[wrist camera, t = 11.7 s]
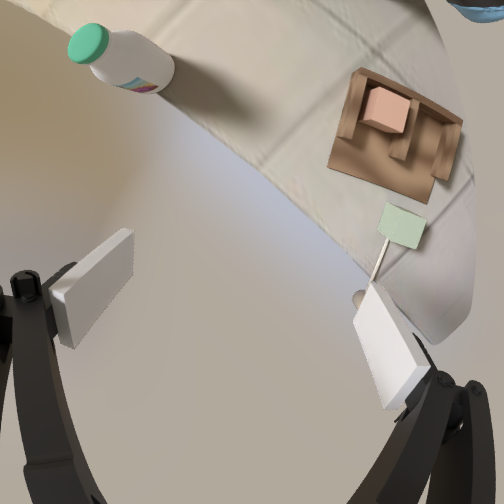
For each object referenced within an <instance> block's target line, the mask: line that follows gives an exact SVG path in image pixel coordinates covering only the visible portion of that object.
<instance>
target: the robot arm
mask: <svg viewBox="0 0 504 504" xmlns="http://www.w3.org/2000/svg"><path fill="white" fill-rule="evenodd" d="M447 2H448V3H450V4H451V5H452V6H454V7H455V8H456V9H457V10H458V11H459V12H460V13H461V14H462V15H463V16H464V17H465V18H467V19H469V20H471V21H473V22H477V23H490V22H495V21H499V20H502V19H504V0H447ZM134 234H135V231H134V230H130V229H126V228H122V229H120V230H119V231H118V232H116V233H115V234H114V235H112V236H111V237H110V238H108V239H107V240H106V241H105V242H103V243H102V244H101V245H99V246H98V247H97V248H96V249H94V250H93V251H92V252H91V253H90V254H88V255H87V256H86V257H85V258H83V259H82V260H81V261H80V262H79V263H77V262H72V263H70V264H67V265H65V266H64V267H63V268H61V269H60V270H59V272H57V273H55V274H54V276H52V277H51V278H49V279H48V280H47V281H46V282H45V283H44V284H42V285H41V283H40V277H39V274H38V273H37V272H35V271H32V270H24V271H20V272H18V273H16V274H14V275H13V276H12V277H11V279H10V283H11V288H12V292H13V296H7V295H4V294H3V290H2V287H1V286H0V430H1V420H2V412H3V404H4V397H5V390H6V386H7V380H8V375H9V370H10V365H11V361H12V357H13V376H14V387H15V398H16V406H17V413H18V420H19V425H20V431H21V436H22V442H23V446H24V451H25V455H26V459H27V464H26V465H25V466H24V470H23V472H24V477H25V480H26V484H27V487H28V490H29V494H30V497H31V500H32V502H33V504H107V502H106V500H105V499H104V497H103V495H102V494H101V492H100V490H99V489H98V487H97V485H96V483H95V481H94V478H93V476H92V474H91V471H90V469H89V467H88V464H87V462H86V459H85V457H84V454H83V452H82V449H81V446H80V443H79V440H78V437H77V435H76V431H75V428H74V425H73V422H72V419H71V415H70V412H69V408H68V405H67V401H66V397H65V393H64V389H63V385H62V381H61V376H60V371H59V367H58V362H57V356H56V350H55V345H54V341H53V338H54V337H55V336H56V335H57V333H58V336H59V340H60V343H61V344H63V345H65V346H67V347H70V348H72V349H75V348H76V347H77V346H78V344H79V343H80V342H81V340H82V339H83V338H84V336H85V335H86V333H87V332H88V331H89V330H90V328H91V327H92V326H93V324H94V323H95V322H96V320H97V319H98V318H99V316H100V315H101V314H102V313H103V311H104V310H105V309H106V308H107V306H108V305H109V304H110V303H111V301H112V300H113V299H114V297H115V296H116V295H117V294H118V292H119V291H120V290H121V289H122V287H123V286H124V285H125V284H126V283H127V282H128V280H129V279H130V278H131V277H132V275H133V255H134ZM353 323H354V326H355V329H356V332H357V334H358V337H359V339H360V342H361V345H362V348H363V350H364V353H365V356H366V358H367V361H368V364H369V367H370V370H371V373H372V376H373V379H374V381H375V384H376V387H377V390H378V393H379V397H380V400H381V402H382V406H383V409H384V410H391V409H392V410H393V409H398V408H399V407H400V406H401V404H402V403H403V402H404V401H405V403H406V405H407V408H406V409H405V410H404V411H403V412H402V413H401V415H400V416H399V417H398V418H397V419H396V420H395V421H394V422H395V423H396V422H397V421H398V422H397V424H396V426H395V428H394V430H393V432H392V434H391V436H390V437H389V439H388V441H387V443H386V445H385V446H384V448H383V450H382V451H381V453H380V455H379V457H378V458H377V460H376V461H375V463H374V465H373V466H372V468H371V469H370V471H369V473H368V474H367V476H366V477H365V479H364V480H363V482H362V483H361V484H360V486H359V487H358V489H357V490H356V492H355V493H354V494H353V496H352V497H351V499H350V500H349V501H348V503H347V504H418V502H419V499H420V497H421V495H422V493H423V491H424V488H425V486H426V484H427V481H428V479H429V476H430V474H431V477H430V483H429V490H428V495H427V500H426V504H495V492H496V472H495V451H494V440H493V430H492V423H491V415H490V409H489V403H488V397H487V393H486V390H485V388H484V387H483V385H482V384H481V383H480V382H477V381H474V380H471V381H469V382H468V383H467V384H466V386H465V387H461V386H457V385H456V384H455V381H454V379H453V378H452V377H451V376H450V375H449V374H448V373H446V372H444V371H438V370H437V368H436V366H435V364H434V363H433V361H432V359H431V357H430V355H429V354H427V353H428V352H427V350H426V349H425V348H424V345H423V343H422V342H421V340H420V339H419V338H418V337H417V336H416V335H415V334H414V333H412V332H411V331H410V329H409V327H408V325H407V324H406V322H405V320H404V319H403V317H402V315H401V314H400V312H399V311H398V309H397V307H396V306H395V304H394V303H393V301H392V299H391V298H390V296H389V295H388V293H387V292H386V290H385V289H384V287H383V286H382V285H381V284H376V283H370V285H369V287H368V290H367V292H366V294H365V296H364V299H363V301H362V303H361V305H360V307H359V310H358V312H357V314H356V316H355V318H354V320H353ZM462 423H463V425H462V427H461V429H460V425H461V424H462Z"/></svg>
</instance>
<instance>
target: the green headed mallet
mask: <svg viewBox="0 0 504 504" xmlns="http://www.w3.org/2000/svg"><path fill="white" fill-rule="evenodd" d="M426 222H427V220H426V219H424V218H423V217H421V216H419V215H417V214H415V213H413V212H411V211H409V210H406V209H404V208H401V207H399V206H396V205H393V204H391V203H388V202H386V205H385V208H384V211H383V214H382V217H381V220H380V223H379V226H378V228H377V230H378V231H379V232H380V233H382V234H383V235H384V236H385V237H386V241H385V243H384V246H383V248H382V251H381V254H380V256H379V259H378V261H377V264H376V266H375V268H374V271H373V273H372V276H371V278H370V280H369V283H368V285H367V287H366V289H365V290H359V291H357V292H356V293H355V294H354V295H353V298H352V301H353V303H354V305H355V307H356V309H357V311H358V310H359V307H360V305H361V303H362V301H363V299H364V296H365V294H366V292H367V290H368V287H369V285H370V283H372V282H373V279H374V277H375V275H376V272H377V270H378V267H379V265H380V263H381V260H382V258H383V255H384V253H385V250H386V247H387V245H388V242H389V240H390V241H392V242H395V243H398V244H401V245H404V246H407V247H410V248H413V249H416V248H417V246H418V243H419V240H420V238H421V235H422V233H423V230H424V227H425V224H426Z"/></svg>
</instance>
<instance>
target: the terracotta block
mask: <svg viewBox="0 0 504 504" xmlns="http://www.w3.org/2000/svg"><path fill="white" fill-rule="evenodd" d="M409 105H410V101H409V100H407V99H405V98H403V97H401V96H399V95H397V94H394V93H392V92H390V91H388V90H386V89H384V88H381V87H377V88H375V89H372V90H370V91H367V92H365V95H364V99H363V103H362V107H361V111H360V114H359V118H358V121H359V122H362V123H364V124H367V125H369V126H372V127H374V128H377V129H379V130H382V131H384V132H390V133H403V130H404V126H405V122H406V118H407V114H408V109H409Z"/></svg>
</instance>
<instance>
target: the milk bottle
mask: <svg viewBox="0 0 504 504" xmlns="http://www.w3.org/2000/svg"><path fill="white" fill-rule="evenodd" d="M68 56H69V57H70V59H71V60H72V61H73V62H76V63H79V64H83V65H90V67H91V69H92V71H93V73H94V74H95V75H96V77H98V78H99V79H100V80H101V81H103V82H105V83H107V84H110V85H113V86H116V87H120V88H124V89H127V90H131V91H135V92H139V93H142V94H153V93H157V92H159V91H161V90H162V89H164V88H165V87H166V86H167V85H168V84H169V83H170V81H171V80H172V78H173V75H174V71H175V65H174V61H173V59H172V57H171V56H170V55H169V54H168V53H166V52H165V51H164V50H163V49H161V48H160V47H159V46H157V45H156V44H154V43H153V42H152V41H150V40H149V39H147V38H146V37H144V36H142V35H141V34H139V33H137V32H134V31H130V30H117V31H112V32H110V31H109V30H108V29H107V28H105V27H103V26H102V25H99V24H96V23H90V24H87V25H84V26H83V27H81V28H80V29H79V30H77V31H76V33H75V34H74V35H73V36H72V38H71V40H70V42H69V45H68Z"/></svg>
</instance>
